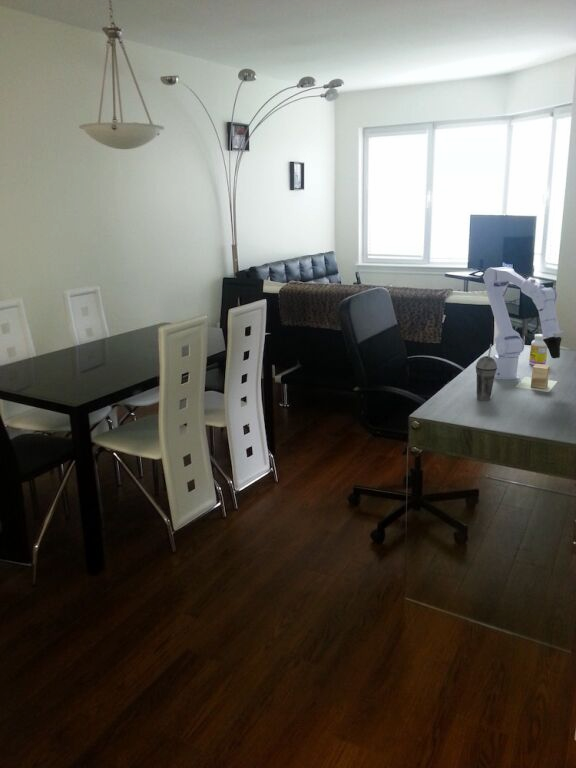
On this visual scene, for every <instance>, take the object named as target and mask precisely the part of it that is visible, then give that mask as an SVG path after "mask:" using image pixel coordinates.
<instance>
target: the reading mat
mask: <svg viewBox="0 0 576 768" xmlns="http://www.w3.org/2000/svg"><path fill="white" fill-rule="evenodd" d="M531 379H532V376H524V378H522V379H521V381H519V382H518V383H517V384H516V386H515V388H517V389H518V388H519V389H525V390H531V391H540V392H544V393H549V392H551V391H552V389H553V388H554V386H555V385H556V384H557V383H558V381H557V380H550V379H548V386H547V387H546V388H545V389H538V388H532V387H531Z"/></svg>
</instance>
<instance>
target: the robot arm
mask: <svg viewBox="0 0 576 768" xmlns="http://www.w3.org/2000/svg"><path fill="white" fill-rule="evenodd" d="M483 282H484V285H485V288H486V295H487V297H488V301H489V304H490V308H491V311H492V315H493V317H494V322H495V324H496V325H495V326H496V327H497V332H498V334H497V335H496V337H495V338H494V341H495V352H496V353H497V354H494V355H493V356H492V358H493V359H494V360H495V362H496V364H497V370H496V373H495V377H494V380H520V379H521V378H520V377H519V376H518V368H519V367H518V366H519V358H520V356H521V353H522V352H523V351H524V350H525V342H524V339H522V337H521V335H520V333H519V332H517V331H516V330H515V329H514V327H513V325H512V322H511V318H510V316H509V315H510V314H509V312H508V308H507V304H506V301H505V298H504V294H503V291H505V289H506V288H507V287H508V286H509V284H513V285H514V286H516V287H518V288H520V291H521V293H522V294H524V295H525V296H528V297H529V298H531V300H532V302H533V304H534V306H535V307H536V309H537V310H538V316H539V320H540V326H541V331H542V333H541V334H542V336H543V337H546V339H543V341H544V342H545V344H546V345H547V347H548V348H547V350H548V352H549V354H550V356H551V357H550V358H551V359H559V358H560V357H561V342H562V339H563V338H562V337H561V336H559V337H558V335H560V334H562V333H564V330H560V327H559V320H558V319H559V318H558V314H557V309H556V308H557V307H556V305H555V302H556V300H557V297H558V295H557V291H556V289H555V288H554V287H551V286H549V287H545V285H544V284H540V283H539V282H537V281H536V279H535V278H527V279H526V278H524V277H523V276H521V275H520V274H518V272H516V271H515V270H514V268H512V267H510V266H504V267H501V266H500V267H488V268H487V269H485V272H484V275H483Z"/></svg>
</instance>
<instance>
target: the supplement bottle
mask: <svg viewBox="0 0 576 768" xmlns="http://www.w3.org/2000/svg"><path fill="white" fill-rule="evenodd" d="M542 334H543V333H535V334H534V339H533V340H532V341H531V344H530V352H529V358H528V364H530V365H532V366H534V365H535V364H541V365H547V356H548V355H547V354H548V347H547V345H546V344H545V342H544V341H543V339H547V337H543V336H542Z"/></svg>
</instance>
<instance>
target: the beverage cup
mask: <svg viewBox="0 0 576 768" xmlns="http://www.w3.org/2000/svg"><path fill="white" fill-rule="evenodd" d="M492 346H493V344H492V343H490V344H489V350H488V355H486V356H481V358H479V359H478V360H477V362H476V363H475V373H476V399H477V400H479V401H485V402H488V401H490V400H491V396H492V394H493V393H492V391H493V387H494V381H495V378H494V377H495V373H496V370H497V364H496V362H495V360H494V359H493V356H492V357H491V351H492Z"/></svg>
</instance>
